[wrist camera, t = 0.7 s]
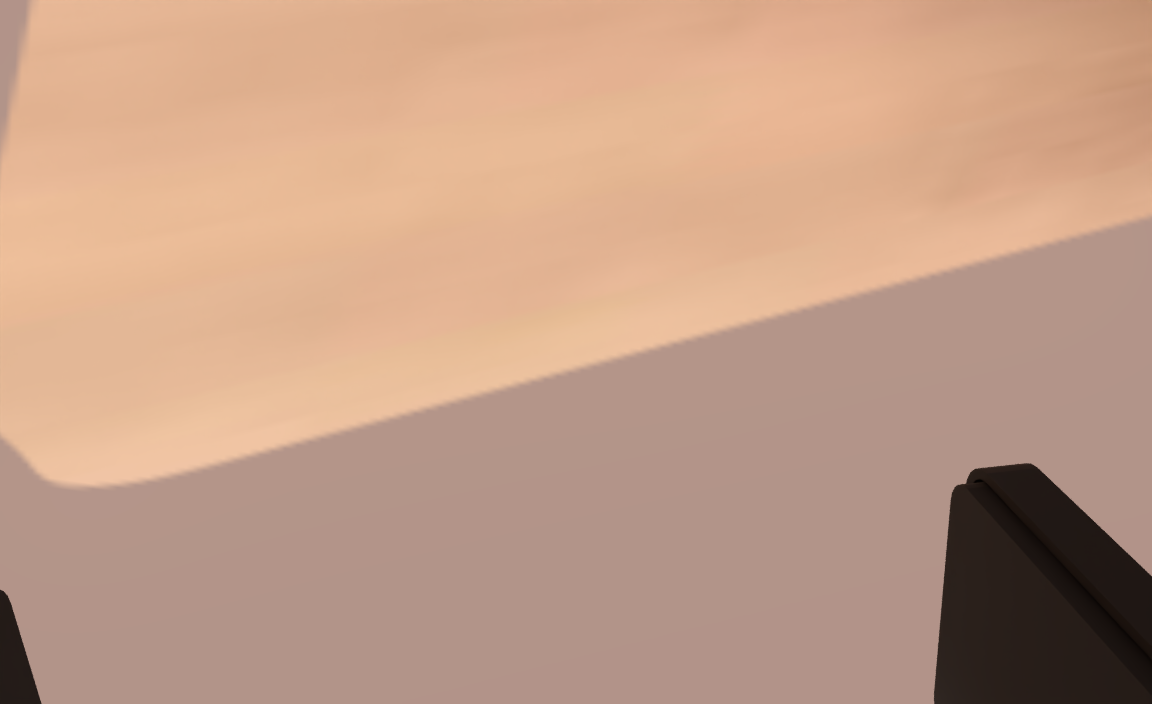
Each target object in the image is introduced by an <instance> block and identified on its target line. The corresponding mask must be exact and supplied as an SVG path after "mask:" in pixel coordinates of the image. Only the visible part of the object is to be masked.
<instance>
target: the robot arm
mask: <svg viewBox="0 0 1152 704" xmlns="http://www.w3.org/2000/svg"><path fill="white" fill-rule="evenodd" d="M939 632H940V633H939V643H938V655H937V666H936V679H935V690H934V704H1152V576H1151V575H1150V574H1149V573H1147V571H1145V569H1143V568H1142V567H1141V566H1140V565H1139V564H1138V563H1137V562H1136V561H1135V560H1134V559H1133V558H1132V557H1131V556H1130V555H1129V554H1128V553H1126V551H1124V550H1123V549H1122V548H1121V547H1120V546H1119V545H1118V544H1117V543H1116V542H1115V541H1114V540H1113V539H1112V538H1111V537H1110V536H1109V535H1108V534H1107V533H1106V532H1105V531H1104V530H1102V529H1101V528H1100V527H1099V526H1098V525H1097V524H1096V523H1095V522H1094V521H1093V520H1092V519H1091V518H1090V517H1089V516H1088V515H1087V514H1086V513H1085V512H1084V511H1083V510H1081V509H1080V508H1079V507H1078V506H1077V505H1076V504H1075V503H1074V502H1073V501H1072V500H1071V499H1070V498H1069V497H1068V496H1067V495H1066V494H1065V493H1063V492H1062V491H1061V490H1060V489H1059V488H1058V487H1057V486H1056V485H1055V484H1054V483H1053V482H1052V481H1051V480H1050V479H1049V478H1048V477H1047V476H1046V475H1045V474H1044V473H1042V472H1041V471H1040V470H1039V469H1038V468H1037V467H1036V466H1034V465H1032V464H1027V463H1026V464H1015V465H1006V466H997V467H988V468H978V469H974V470H973V471H972V472H971V473H970V475H969V476H968V479H967V483H966V484H961V485H957V486H956V487H955V488H954V490H953V492H952V497H951V505H950V515H949V527H948V539H947V550H946V562H945V574H944V585H943V597H942V608H941V620H940V631H939ZM0 704H41V701H40V698H39V695H38V691H37V688H36V685H35V681H34V678H33V674H32V671H31V668H30V665H29V661H28V658H27V655H26V652H25V648H24V645H23V642H22V639H21V635H20V632H19V628H18V625H17V622H16V619H15V615H14V612H13V609H12V605H11V603H10V600H9V598H8V596H7V595H6V594H5V592H4V591H2V590H0Z"/></svg>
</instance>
